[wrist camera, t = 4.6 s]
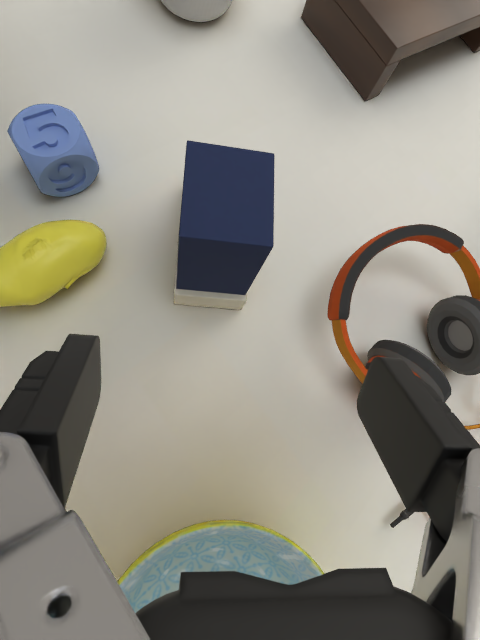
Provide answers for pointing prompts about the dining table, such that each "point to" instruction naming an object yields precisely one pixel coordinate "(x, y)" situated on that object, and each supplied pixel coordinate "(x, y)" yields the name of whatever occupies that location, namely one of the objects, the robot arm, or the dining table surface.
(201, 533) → the bowl
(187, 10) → the cup
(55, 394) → the robot arm
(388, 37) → the brown platform
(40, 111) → the decorative dice
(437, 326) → the headphones
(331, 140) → the dining table surface
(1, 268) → the lemon
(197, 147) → the navy blue block
